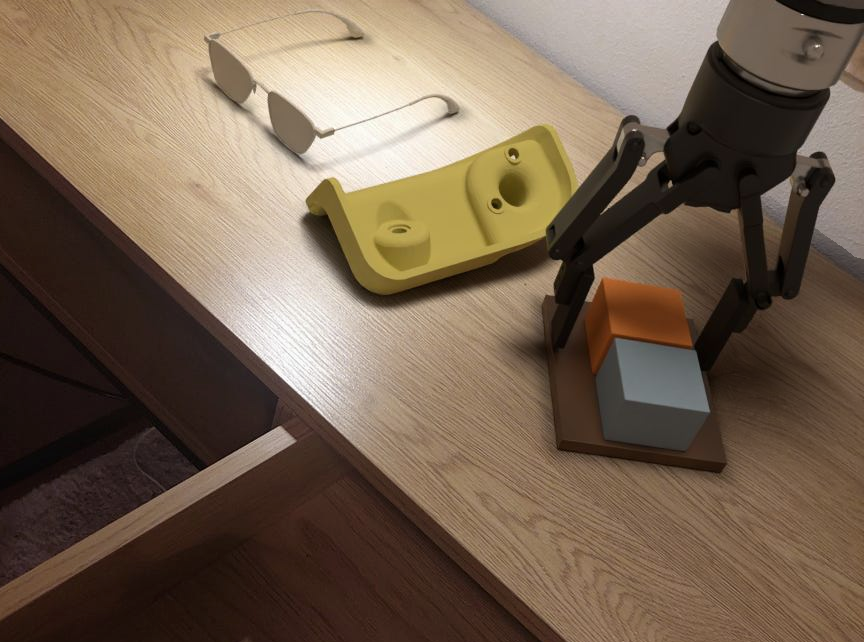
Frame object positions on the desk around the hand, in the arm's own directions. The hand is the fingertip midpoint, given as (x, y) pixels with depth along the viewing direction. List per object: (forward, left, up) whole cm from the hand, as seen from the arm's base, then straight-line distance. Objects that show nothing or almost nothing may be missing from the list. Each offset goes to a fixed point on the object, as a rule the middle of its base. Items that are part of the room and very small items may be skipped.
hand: (630, 347), depth 79 cm
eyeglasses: (+23, -29, -2) cm, 37 cm away
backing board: (0, +2, -1) cm, 3 cm away
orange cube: (0, 0, 0) cm, 0 cm away
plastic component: (+14, -11, -2) cm, 18 cm away
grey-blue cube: (0, +6, 0) cm, 6 cm away
